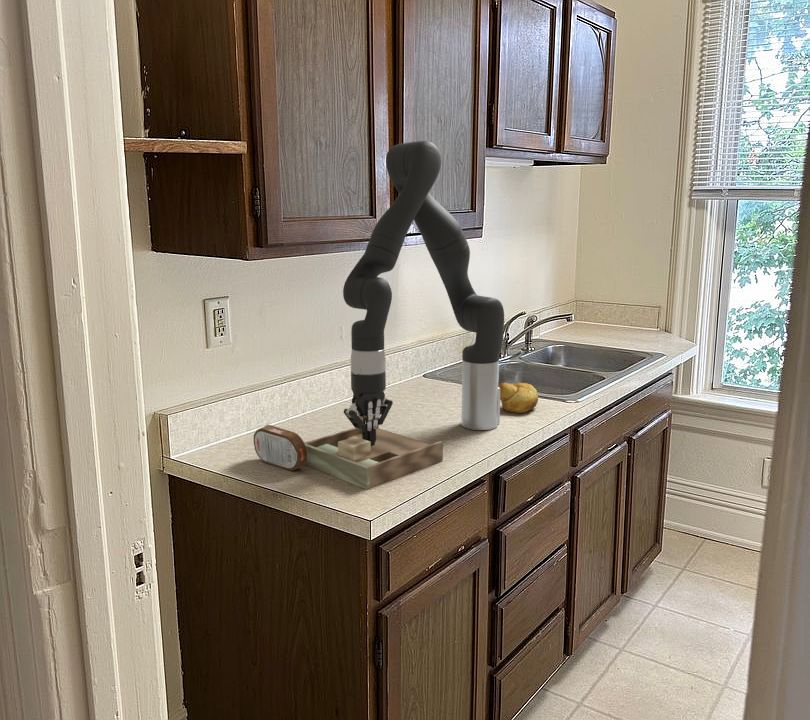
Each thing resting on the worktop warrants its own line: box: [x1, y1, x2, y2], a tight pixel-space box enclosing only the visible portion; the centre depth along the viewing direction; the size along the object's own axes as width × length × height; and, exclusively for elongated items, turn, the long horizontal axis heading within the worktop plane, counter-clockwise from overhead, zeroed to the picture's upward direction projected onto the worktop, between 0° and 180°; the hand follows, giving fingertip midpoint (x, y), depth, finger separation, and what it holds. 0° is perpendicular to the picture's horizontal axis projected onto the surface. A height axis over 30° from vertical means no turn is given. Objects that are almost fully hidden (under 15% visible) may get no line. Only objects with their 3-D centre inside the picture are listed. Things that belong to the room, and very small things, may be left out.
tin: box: [253, 424, 307, 472], centre depth 166 cm, size 15×3×8 cm, turn 51°
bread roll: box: [498, 382, 539, 414], centre depth 208 cm, size 13×10×8 cm
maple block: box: [338, 437, 371, 461], centre depth 164 cm, size 5×5×3 cm
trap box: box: [304, 425, 444, 490], centre depth 168 cm, size 23×22×4 cm
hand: (369, 445), depth 167 cm, fingers closed
